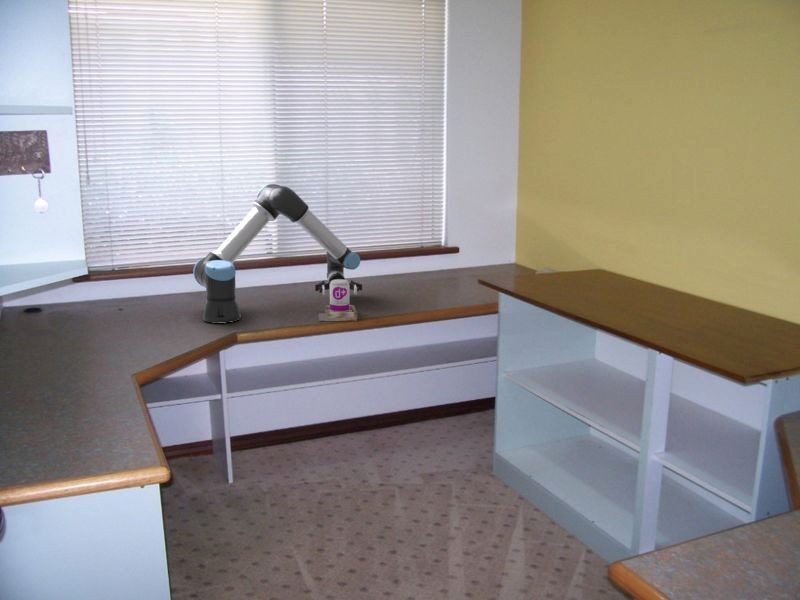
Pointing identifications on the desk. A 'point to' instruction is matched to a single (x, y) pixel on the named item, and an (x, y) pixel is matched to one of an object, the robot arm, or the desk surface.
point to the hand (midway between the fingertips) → (340, 291)
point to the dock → (341, 314)
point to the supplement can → (339, 295)
